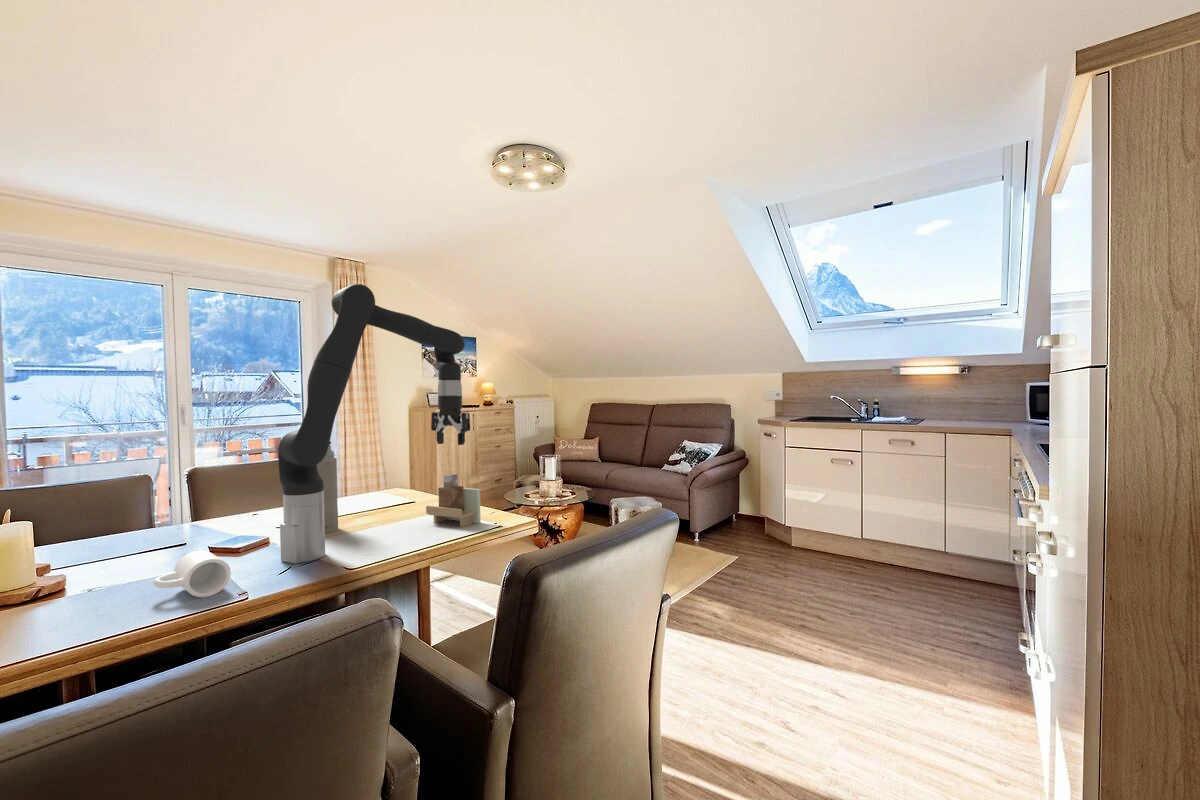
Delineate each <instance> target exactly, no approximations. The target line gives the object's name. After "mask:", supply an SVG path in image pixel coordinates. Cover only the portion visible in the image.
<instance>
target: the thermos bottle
mask: <svg viewBox="0 0 1200 800" xmlns="http://www.w3.org/2000/svg"><path fill="white" fill-rule="evenodd" d="M331 444H332V441H331V440H330V442H329V447H328V451H327V454H326V455H325V457H324V459H323V460H322V461H321V462H320V463H319V464H317V471H318V474H319V476H320V477H321V478H322V480H323V483H324V525H325V534H328V533H332V532H335V531H338V530H339V510H338V509H339V506H338V468H337V467H338V462H337V457H335V451H333V450H332V448H331V447H332V446H331Z"/></svg>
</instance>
